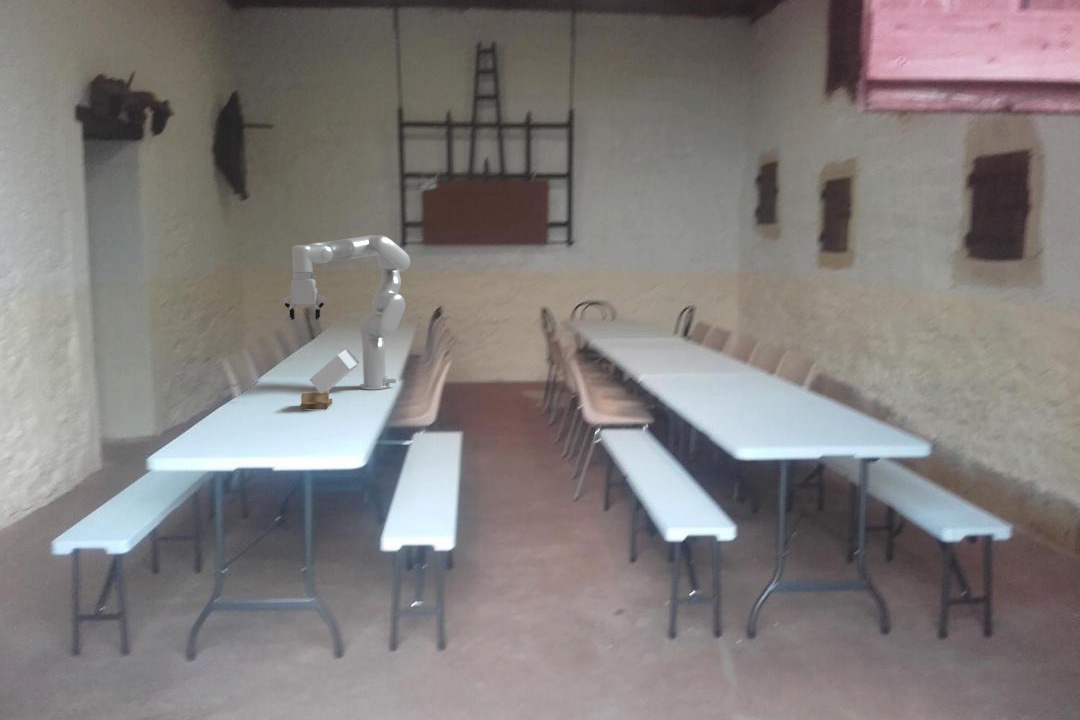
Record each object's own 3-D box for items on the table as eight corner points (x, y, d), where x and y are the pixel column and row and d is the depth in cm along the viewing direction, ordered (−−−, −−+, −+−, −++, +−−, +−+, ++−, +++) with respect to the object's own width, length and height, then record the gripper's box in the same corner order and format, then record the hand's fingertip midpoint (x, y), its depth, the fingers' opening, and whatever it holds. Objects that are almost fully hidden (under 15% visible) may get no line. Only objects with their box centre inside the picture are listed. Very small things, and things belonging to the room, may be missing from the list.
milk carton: (320, 394, 337) (357, 362, 335) (308, 379, 337) (345, 348, 335) (326, 392, 344) (362, 361, 342) (315, 378, 344) (351, 346, 342)
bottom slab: (332, 406, 348) (332, 398, 347) (327, 411, 338) (327, 403, 337) (306, 406, 347) (306, 398, 347) (300, 411, 337) (300, 403, 337)
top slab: (328, 398, 348) (328, 391, 347) (328, 403, 338) (328, 395, 337) (302, 399, 345) (302, 392, 345) (301, 404, 336) (301, 396, 335)
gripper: (326, 275, 356) (328, 318, 359) (283, 276, 355) (285, 318, 358) (323, 276, 348) (325, 320, 351) (279, 277, 347) (281, 320, 350)
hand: (305, 319), depth 354 cm, fingers open, 9 cm apart
